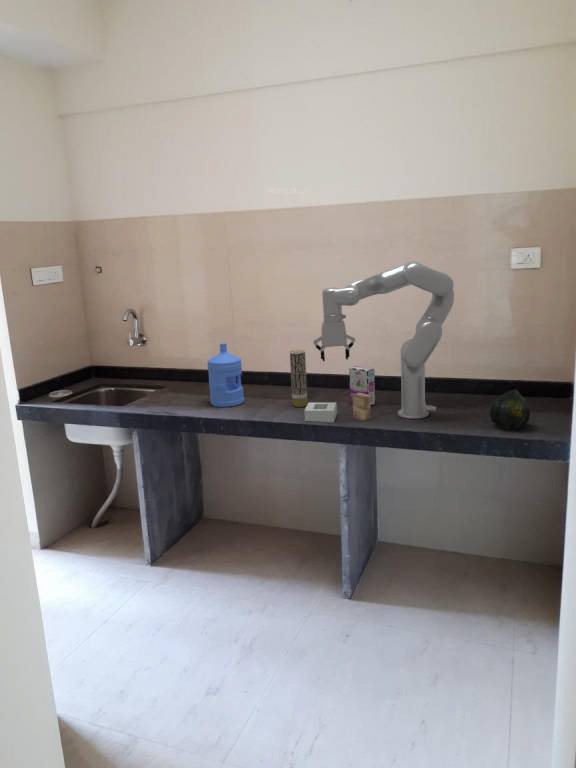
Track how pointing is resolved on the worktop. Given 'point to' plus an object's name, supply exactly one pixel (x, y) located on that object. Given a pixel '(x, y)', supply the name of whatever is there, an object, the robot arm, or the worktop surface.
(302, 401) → the paper tube
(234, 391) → the water jug
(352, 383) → the candy bar box
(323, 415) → the sage socket block
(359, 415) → the maple key peg
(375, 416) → the worktop surface
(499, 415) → the squash
